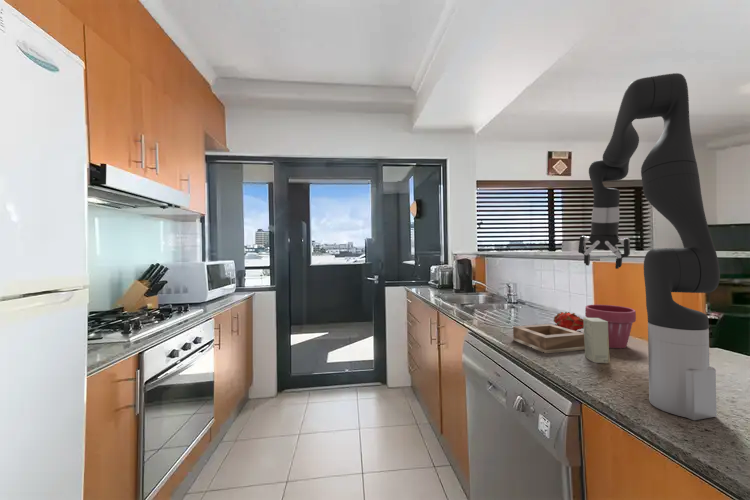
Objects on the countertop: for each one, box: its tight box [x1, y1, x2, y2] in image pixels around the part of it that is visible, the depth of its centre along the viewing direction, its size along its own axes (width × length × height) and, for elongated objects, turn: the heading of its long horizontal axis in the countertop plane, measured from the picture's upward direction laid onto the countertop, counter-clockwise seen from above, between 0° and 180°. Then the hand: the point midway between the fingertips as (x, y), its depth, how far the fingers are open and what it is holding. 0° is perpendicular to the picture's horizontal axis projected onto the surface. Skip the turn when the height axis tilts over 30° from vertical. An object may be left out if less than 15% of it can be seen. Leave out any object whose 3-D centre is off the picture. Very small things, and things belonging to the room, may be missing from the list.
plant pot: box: [584, 304, 637, 349], centre depth 111 cm, size 14×14×13 cm
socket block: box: [512, 323, 585, 354], centre depth 112 cm, size 16×16×5 cm
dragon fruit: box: [553, 311, 584, 333], centre depth 129 cm, size 8×8×12 cm
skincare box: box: [582, 317, 611, 364], centre depth 96 cm, size 6×4×12 cm
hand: (602, 266), depth 111 cm, fingers open, 8 cm apart
